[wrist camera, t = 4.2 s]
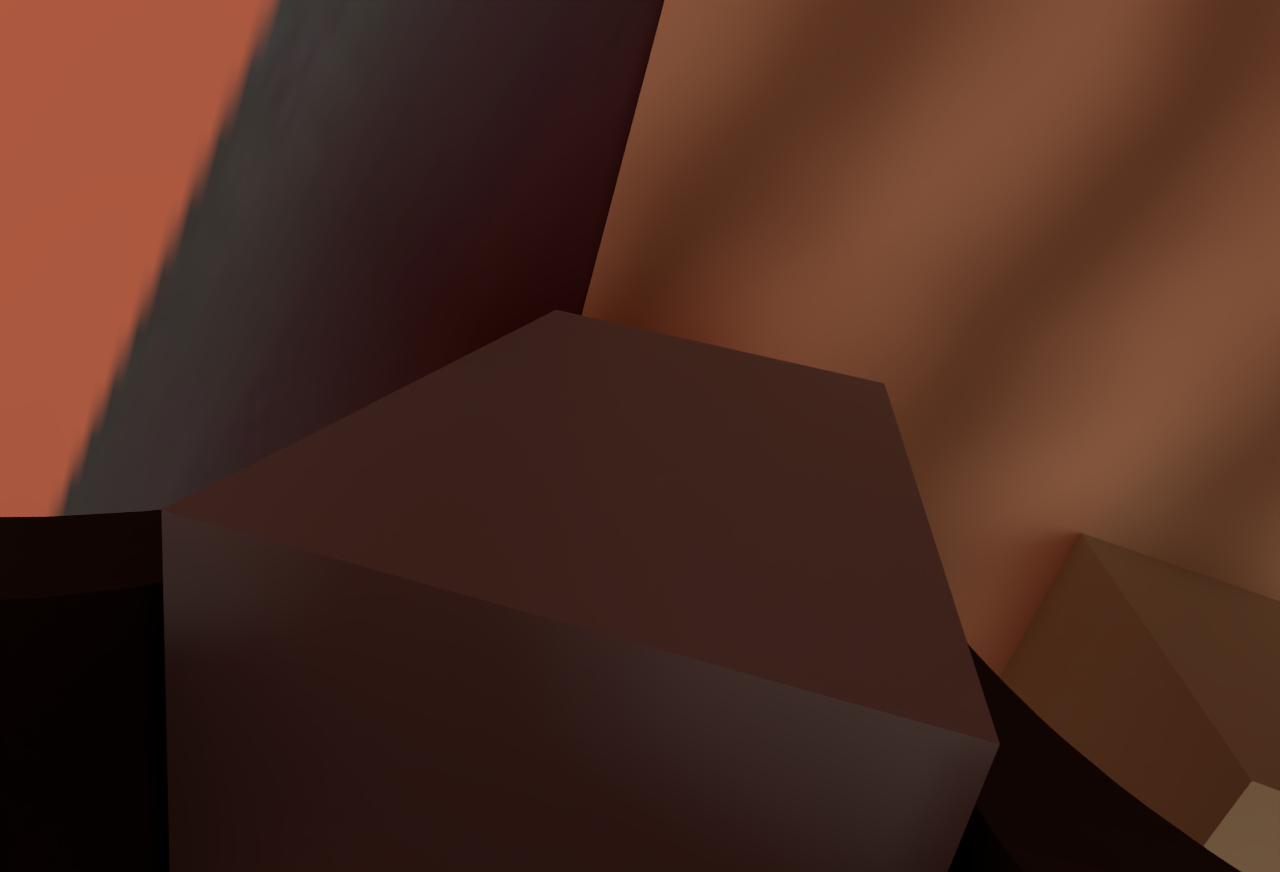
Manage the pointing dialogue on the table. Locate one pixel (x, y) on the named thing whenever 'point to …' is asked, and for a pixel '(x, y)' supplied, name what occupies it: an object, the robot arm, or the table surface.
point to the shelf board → (989, 258)
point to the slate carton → (573, 628)
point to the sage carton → (1164, 692)
